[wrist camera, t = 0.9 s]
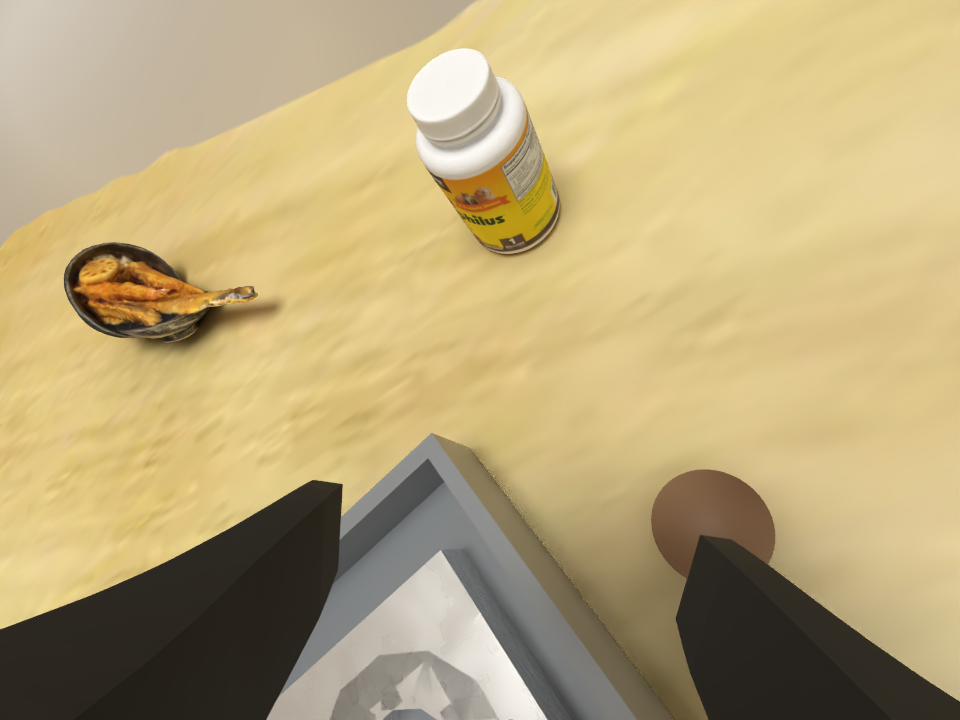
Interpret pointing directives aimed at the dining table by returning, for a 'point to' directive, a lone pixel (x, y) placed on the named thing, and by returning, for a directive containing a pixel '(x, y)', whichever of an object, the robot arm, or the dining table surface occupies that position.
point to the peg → (709, 516)
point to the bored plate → (429, 658)
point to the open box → (501, 562)
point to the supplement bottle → (483, 151)
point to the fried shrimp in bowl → (138, 294)
